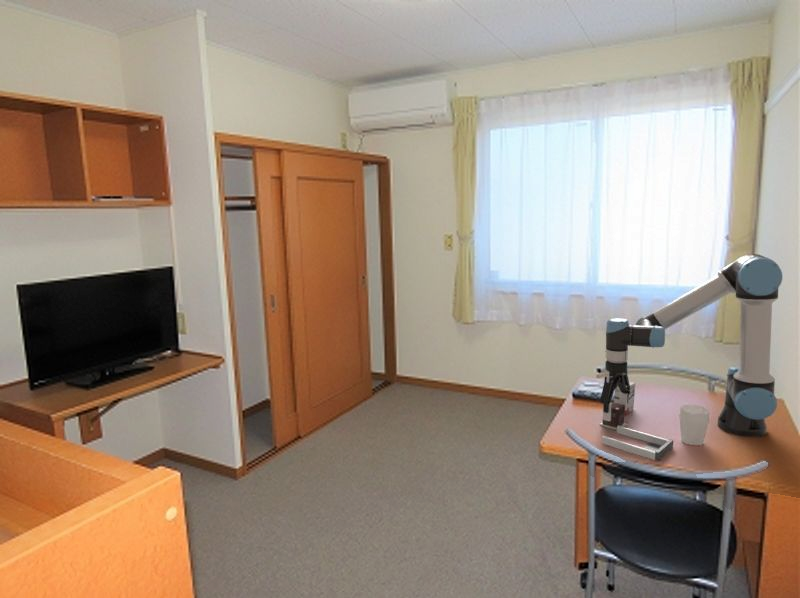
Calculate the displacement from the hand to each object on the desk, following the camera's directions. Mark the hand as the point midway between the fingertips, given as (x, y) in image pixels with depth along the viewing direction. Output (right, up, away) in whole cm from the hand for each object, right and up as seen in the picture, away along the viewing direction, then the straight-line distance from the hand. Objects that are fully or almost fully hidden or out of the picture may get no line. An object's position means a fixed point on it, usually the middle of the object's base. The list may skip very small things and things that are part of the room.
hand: (615, 414), depth 200 cm
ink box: (+9, -2, +14) cm, 17 cm away
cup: (+21, -7, -14) cm, 26 cm away
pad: (0, -4, +1) cm, 4 cm away
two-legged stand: (+1, -7, -16) cm, 17 cm away
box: (0, -4, +1) cm, 4 cm away
